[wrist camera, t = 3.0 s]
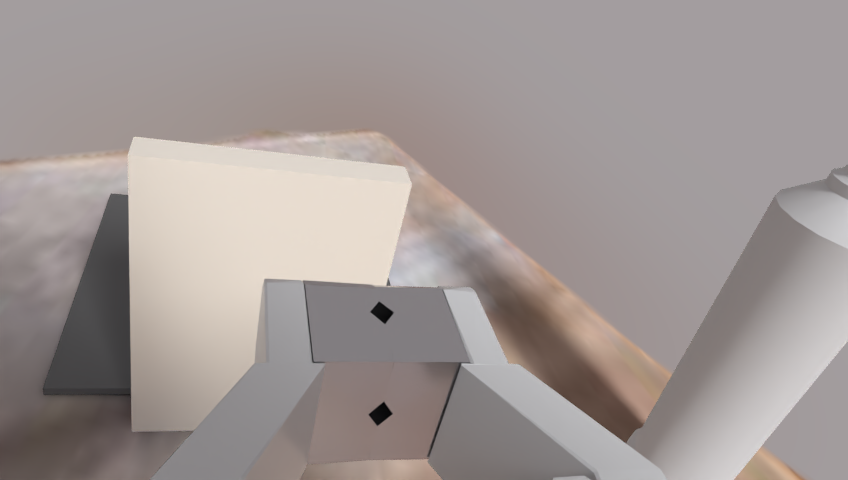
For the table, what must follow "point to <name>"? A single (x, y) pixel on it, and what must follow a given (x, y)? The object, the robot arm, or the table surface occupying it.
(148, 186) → the tile
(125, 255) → the mat
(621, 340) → the table surface
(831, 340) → the bottle
